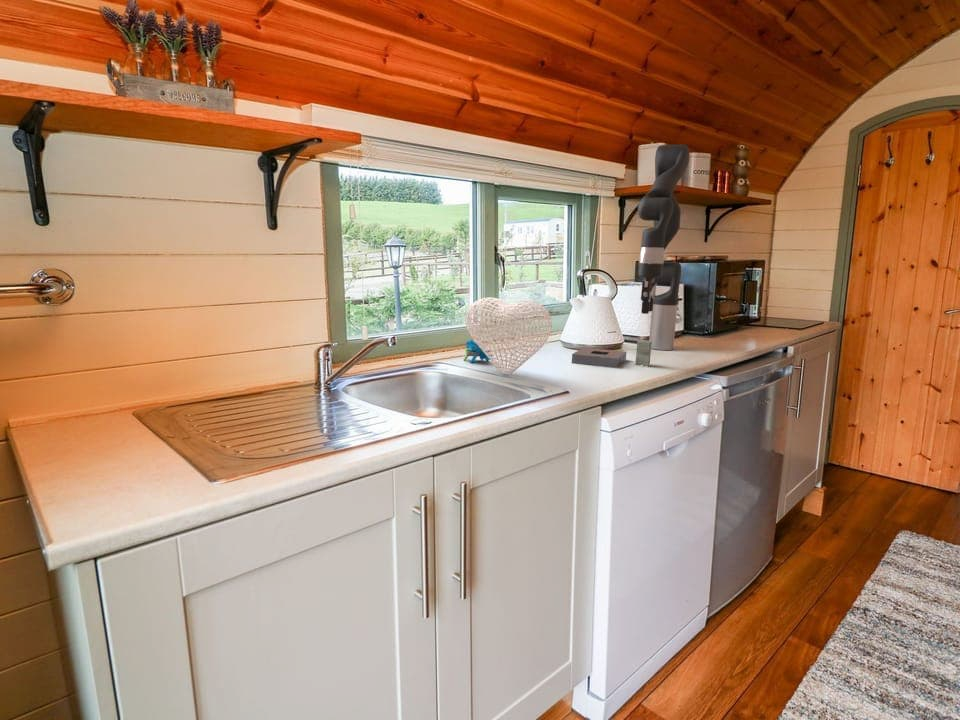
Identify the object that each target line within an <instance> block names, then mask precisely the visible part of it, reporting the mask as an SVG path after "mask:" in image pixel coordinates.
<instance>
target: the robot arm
mask: <svg viewBox="0 0 960 720" xmlns="http://www.w3.org/2000/svg"><path fill="white" fill-rule="evenodd" d="M654 157H655V158H654V172H655V173H654V176H655V177H654V178H655V180H654V181H653V183H652V186H651V189H650V190H649V191H648V192H647V193H646V194H645V196H643V197H642V199H641V200H640V202H639V203H638V205H637V206H638V207H637V214H638V216H639V218H640V219H641V220H642V221H645V222H646V221H649V222H650V221H653V227H649V228H645V229H643V231H642V234H641V244H640V245H641V246H640V251H639V260H638V274H637V276H638V277H640V278H644V280H642V281H641V296H640V300H641V314H644V315H645V314H646V315H647V314H649V313H650V312H651V313H650V314H651V316H650V325H649V326H650V327H649V329H650V330H649V339H648V341H652V343H651V350H657V351H673V350H674V345H675V344H674V343H675V337H676V336H675V335H676V324H677V311H678V304H679V303H678V301H679V291H680V290H679V289H680V283H681V277H682V265H681V263H680V262H675V261H664V259H665V250H666V248H668V246H669V244H670V243H671V242H672V241H673V239H674V237H675V236H676V235H677V234H678V232H679V230H680V227H681V213H682V211H681V207H680V204H679V203H678V201H677V199H676V198H675V196H674V192H675V188H676V186H677V185H678V183H679V182H680V180H681V178H682V177H683V175H684V174H685V172H686V170H687V168H688V166H689V162H690V149H689V147H688V145H686V144H662V145H661V144H660V145H658V146H657V148H656V150H655V155H654ZM657 287H667V288H668V287H669V290H668V291H665V292H664V293H661V294H657V295H656V293H657V290H656V289H657Z"/></svg>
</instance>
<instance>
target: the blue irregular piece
mask: <svg viewBox="0 0 960 720" xmlns="http://www.w3.org/2000/svg"><path fill="white" fill-rule="evenodd" d="M465 347H466V349H465V354H466V355H465V357H464V358H463V361H465V362H466V360H467V359H468V357H472V358H471V359H470V361H469V363H471V364H474V362H475V361H476V359H477V358H478V357H479V359H480V360H482V361H484V360H485V361H486V362H489V361H490V359H489V358H488V357H487V355H486V354H485V353H484V352H483V351H482V349H481V348H480V347H479V346H478V345H477V344H476V342H475V341H474V340H472V339H470V340H466V343H465ZM483 348H484V347H483ZM486 352H487V351H486ZM488 352H489V353H491V352H490V351H489V350H488ZM491 356H492V355H491ZM492 357H493V356H492Z"/></svg>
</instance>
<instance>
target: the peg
mask: <svg viewBox="0 0 960 720" xmlns="http://www.w3.org/2000/svg"><path fill="white" fill-rule="evenodd" d="M651 343H652V341H649V340H644V339H639V340H637V342H636V352H635V353H636V354H635V355H636V356H635V365H643V366H642V367H645V366H648V365H649V364H650V363H651V354H652V353H651V352H652V349H651ZM649 366H650V365H649ZM649 366H648V367H649Z"/></svg>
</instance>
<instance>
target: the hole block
mask: <svg viewBox="0 0 960 720" xmlns="http://www.w3.org/2000/svg"><path fill="white" fill-rule="evenodd" d="M626 360H627V351H626V350H625V351H624V350H615V349H613V350H612V349H602V348H594V347H593V348H592V347H591V348H590V347H582V348H580V349H578V350H576V351H575V352H573V353H572V354H571V364H579V365H589V366H596V367H604V368H605V367H606V368H615V369H618V368H619V367H621V365H622V364H624V363H625V361H626ZM617 367H618V368H617Z"/></svg>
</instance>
